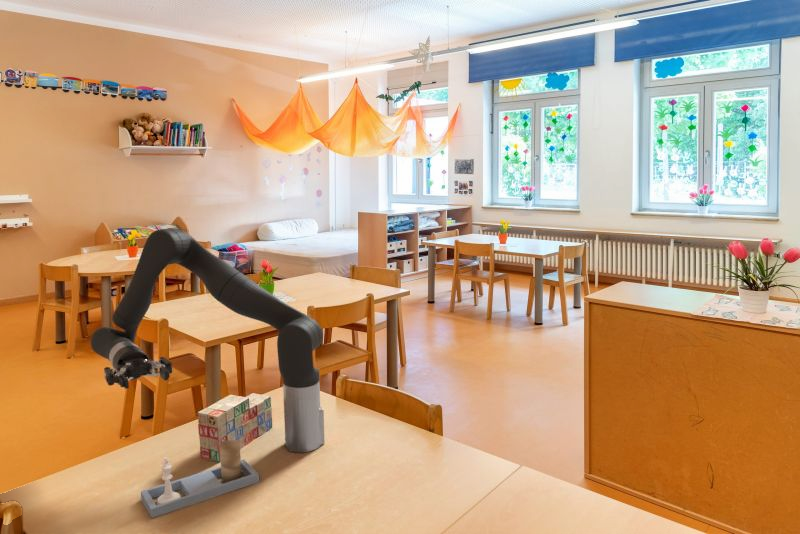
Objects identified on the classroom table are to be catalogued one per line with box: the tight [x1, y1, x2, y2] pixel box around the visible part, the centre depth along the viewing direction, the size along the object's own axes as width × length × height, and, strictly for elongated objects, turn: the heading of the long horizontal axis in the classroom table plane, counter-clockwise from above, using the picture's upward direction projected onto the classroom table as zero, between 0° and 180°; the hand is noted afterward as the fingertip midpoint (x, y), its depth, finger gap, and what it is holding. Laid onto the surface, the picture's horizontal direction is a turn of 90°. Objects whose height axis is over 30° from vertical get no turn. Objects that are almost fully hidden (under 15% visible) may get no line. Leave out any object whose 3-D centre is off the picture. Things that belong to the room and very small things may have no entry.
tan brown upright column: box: [220, 440, 243, 484], centre depth 138 cm, size 4×4×9 cm
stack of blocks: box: [197, 392, 273, 463], centre depth 157 cm, size 21×6×12 cm, turn 155°
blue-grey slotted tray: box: [140, 459, 260, 519], centre depth 134 cm, size 24×8×2 cm, turn 126°
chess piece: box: [156, 457, 182, 506], centre depth 130 cm, size 5×5×10 cm
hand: (147, 380), depth 137 cm, fingers open, 8 cm apart
